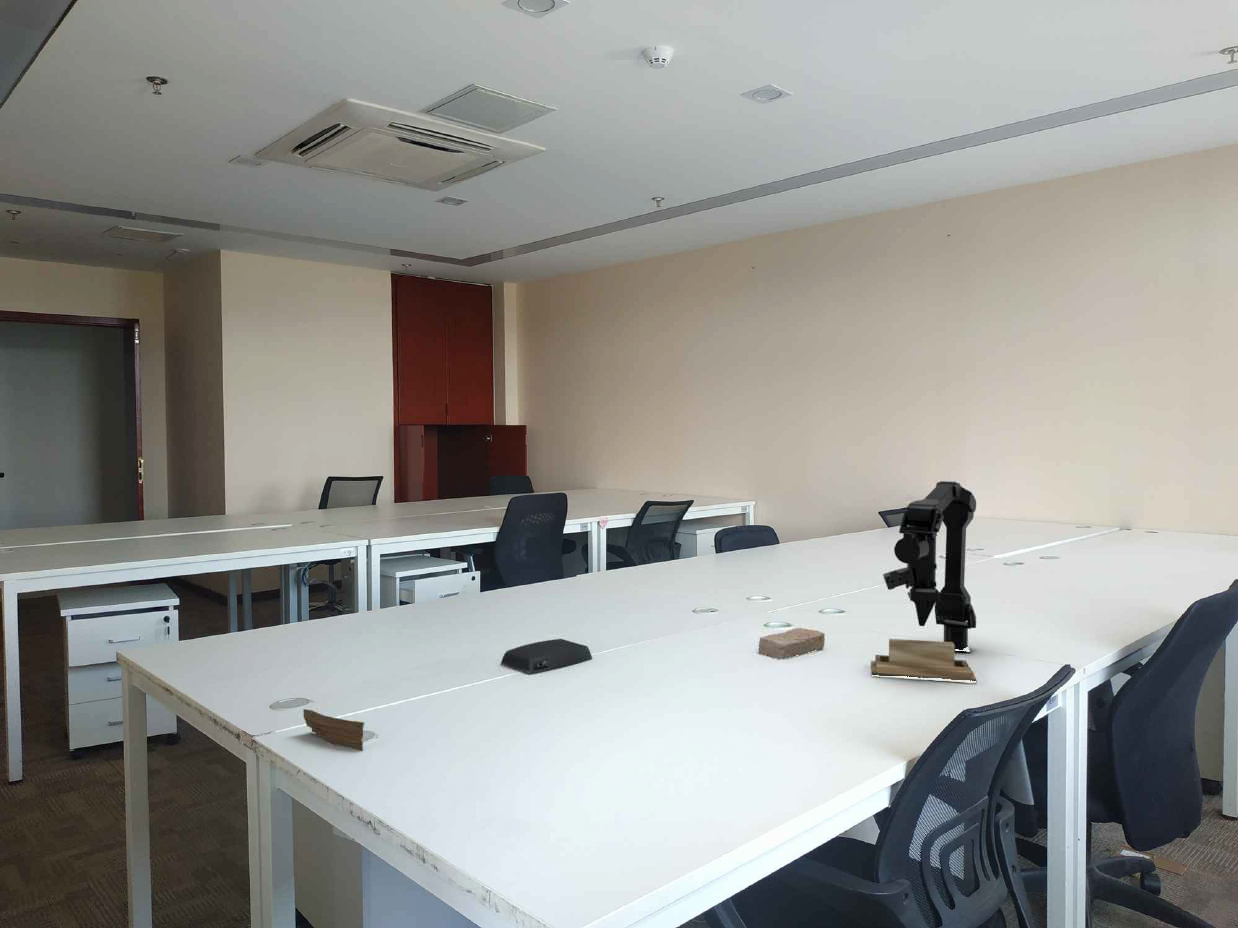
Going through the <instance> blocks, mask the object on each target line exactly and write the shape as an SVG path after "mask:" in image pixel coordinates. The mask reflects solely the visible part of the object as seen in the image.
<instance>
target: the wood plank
mask: <svg viewBox="0 0 1238 928" xmlns="http://www.w3.org/2000/svg"><path fill="white" fill-rule="evenodd" d="M302 712H303V719H304V721H305V723H306V726H307V727H308V728H310V729H311V732H312V733H315V735H316V736H318V737H319V738H321V739H323V740H325V741H328V742H330V743H332V744H335V745H340V746H344V747H345V748H349V749H354V750H356V751H357V750H358V751H361V752H363V751H364V749H363V748H364V747H363V746H364V742H363V740H362V739H363V738H364V725H365V722H364V721H362V722H361V721H356V720H355V721H353V720H347V719H344V718H339V717H331V716H327V715H324V714H322V713H319V712H317V711H314V710H311V709H307V708H303V710H302Z"/></svg>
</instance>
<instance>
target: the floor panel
mask: <svg viewBox="0 0 1238 928" xmlns="http://www.w3.org/2000/svg"><path fill="white" fill-rule="evenodd" d="M874 656H875V660H871V661H870V670H872V671H871V676H872V675H879V676H907V677H908V676H909V677H918V678H921V677H922V678H942V679H951V680H970V681H971V680H972V681H976V682H977V678H976V676H975V674H974V672H973V670H972V667H970V666H969V664H968V662H967V661H966V660H965V659H964V660H963V659H962V660H961V659H954V667H951V666H936V665H921V664H905V663H890V662H889V655H886V654H885V655H882V654H875V655H874Z"/></svg>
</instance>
